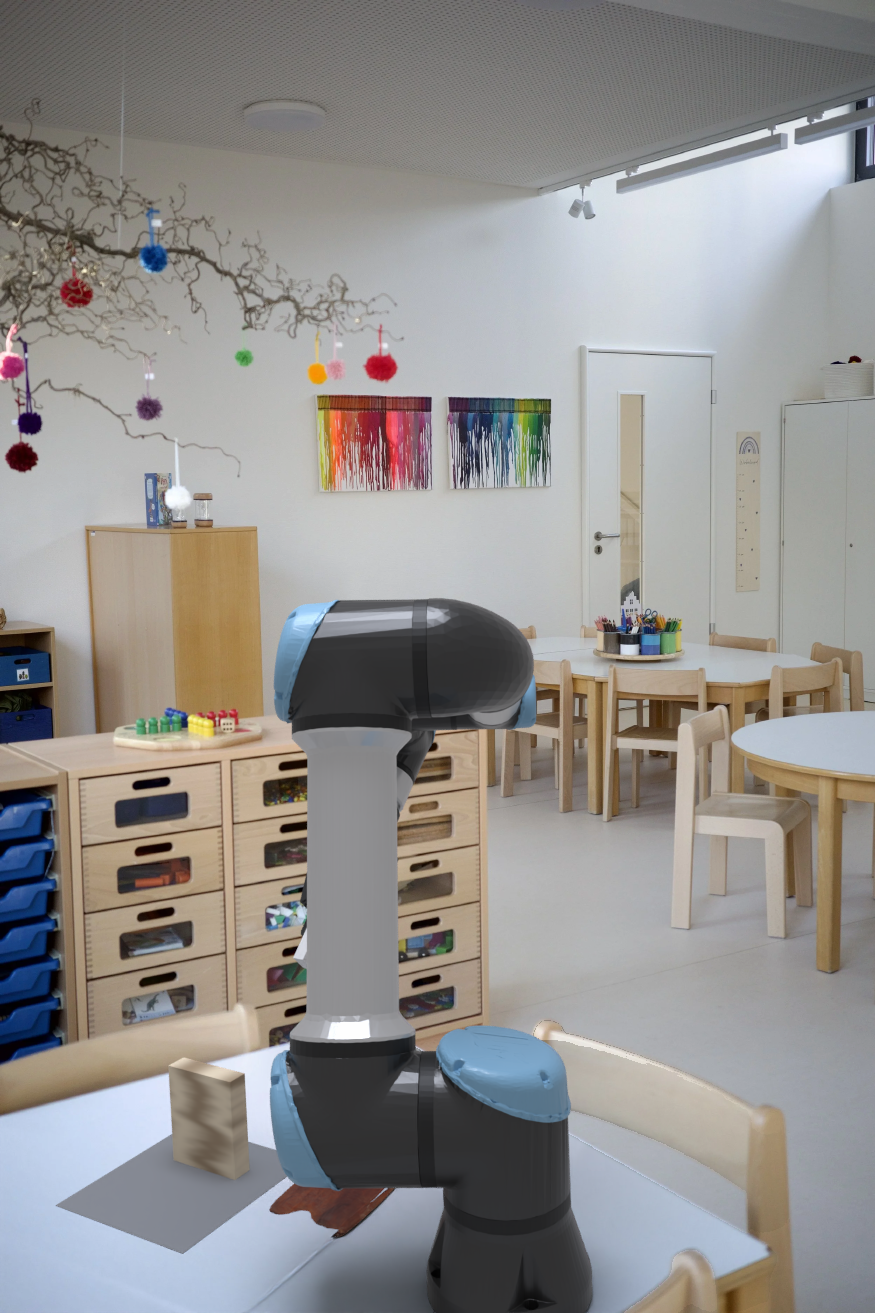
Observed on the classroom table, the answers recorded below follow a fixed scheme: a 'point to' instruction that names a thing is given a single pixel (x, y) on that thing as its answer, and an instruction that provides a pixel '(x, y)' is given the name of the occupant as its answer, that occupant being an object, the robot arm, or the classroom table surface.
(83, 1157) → the classroom table surface
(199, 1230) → the grey mat
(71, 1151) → the classroom table surface
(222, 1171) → the beech board
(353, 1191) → the wooden tablet
